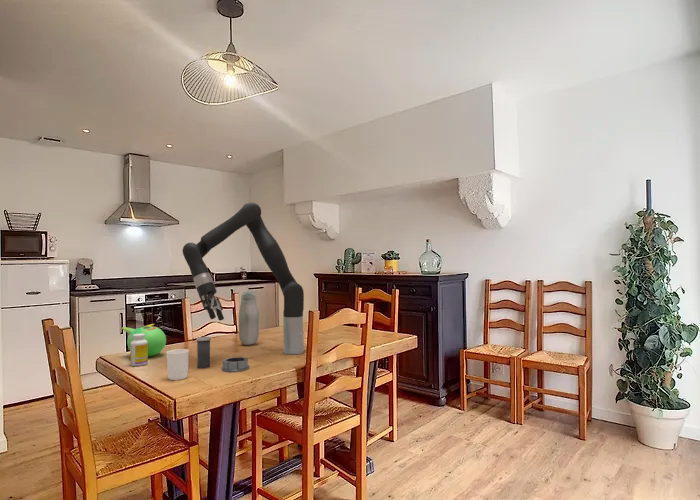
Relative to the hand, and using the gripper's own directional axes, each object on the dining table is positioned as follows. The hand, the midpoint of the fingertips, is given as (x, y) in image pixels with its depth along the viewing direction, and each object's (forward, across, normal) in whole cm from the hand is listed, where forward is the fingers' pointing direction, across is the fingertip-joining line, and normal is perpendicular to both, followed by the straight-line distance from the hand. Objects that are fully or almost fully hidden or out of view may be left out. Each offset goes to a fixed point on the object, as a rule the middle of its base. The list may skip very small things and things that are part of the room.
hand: (217, 319), depth 185 cm
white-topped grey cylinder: (+16, -1, +12) cm, 20 cm away
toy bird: (-3, +15, +43) cm, 46 cm away
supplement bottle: (+3, 0, +39) cm, 39 cm away
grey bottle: (+9, +44, +6) cm, 45 cm away
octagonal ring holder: (+23, -3, -1) cm, 23 cm away
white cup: (+18, -17, +16) cm, 30 cm away
